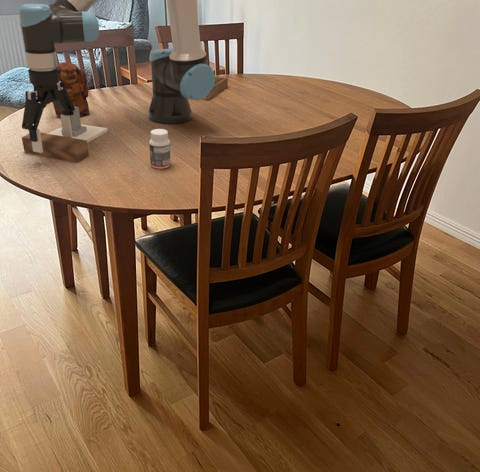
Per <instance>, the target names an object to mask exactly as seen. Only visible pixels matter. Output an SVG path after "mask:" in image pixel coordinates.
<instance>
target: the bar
mask: <svg viewBox="0 0 480 472" xmlns="http://www.w3.org/2000/svg"><path fill="white" fill-rule="evenodd" d="M40 134H41V141H42V147H43V153H39V152H34V151H33V147H32V141H31V140H30V135H29V133H28V134H26V135H23V136H22V137H21V142H22V146H23V152H24V154H29V155H35V156H39V157H46V158H50V159H55V160H61V161H67V162H71V163H76V164H78V163H80V162H81V161H83V160H85V159H86V158H88V157H90V154H89V146H88V143H87V140H81V139H75V138H70V137H64V136H58V135H52V134H48V133H46V132H41V131H40Z"/></svg>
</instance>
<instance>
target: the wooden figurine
mask: <svg viewBox="0 0 480 472" xmlns="http://www.w3.org/2000/svg"><path fill="white" fill-rule="evenodd" d="M57 64H58V63H57ZM56 68H57V69H58V74H59V81H61V82H64V83H65V88H66V91H67V93H68V95H69V97H70V99H71V101H72V103H73V105H74V106H75V107H79V114H80V118H82V117H84V116H86V115H90V107H89V102H88V99H87V98H88V97H89V87H88V80H87V75H86V73H85V71H83V70H82V69H81V68H79V67H78V66H77V64H75V63H73V62H69V61H64V62H59V64H58V66H57V67H56ZM52 104H53V108H54V109H53V110H54V112H55V115H56V118H59V119H61V116H60V115H62V114H63V113H62V112H61V111H60V110H59V109H58V108H57V106H56V105H55V104H54V103H53V102H52ZM68 106H69V105H68ZM63 115H64V114H63Z"/></svg>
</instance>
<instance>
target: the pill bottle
mask: <svg viewBox="0 0 480 472" xmlns="http://www.w3.org/2000/svg"><path fill="white" fill-rule="evenodd" d="M150 137H151V138H150V140H149V142H148V143H149V159H150V166H151V167H152V168H153V169H162V170H163V169H167V168H169V167H170V166H171V165H172V159H171V158H172V157H171V140H170V139H169V138H168V137H169V133H168V130H166V129H164V128H155V129H152V130H150Z"/></svg>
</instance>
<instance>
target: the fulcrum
mask: <svg viewBox="0 0 480 472" xmlns="http://www.w3.org/2000/svg"><path fill="white" fill-rule="evenodd" d="M74 107H75V106H74ZM73 112H74V114H73V115H70V116H71V129H72V138H75V139H81V140H87V144H88V143H90V142H92V141H94V140H95V139H97V138H98V137H100V136H102V135H104V134H106V133H107V132H108V131H109V130H108V127H102V126H101V127H100V126H97V125H95V126H94V125H91V124H90V125H88V124H83V123H82V122H81V117H80V114H79V107H75V110H74V111H73ZM47 134H52V135H58V136H63V131H62V126H61V127H58V128H56V129H54V130H52V131H50V132H48V133H47Z"/></svg>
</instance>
